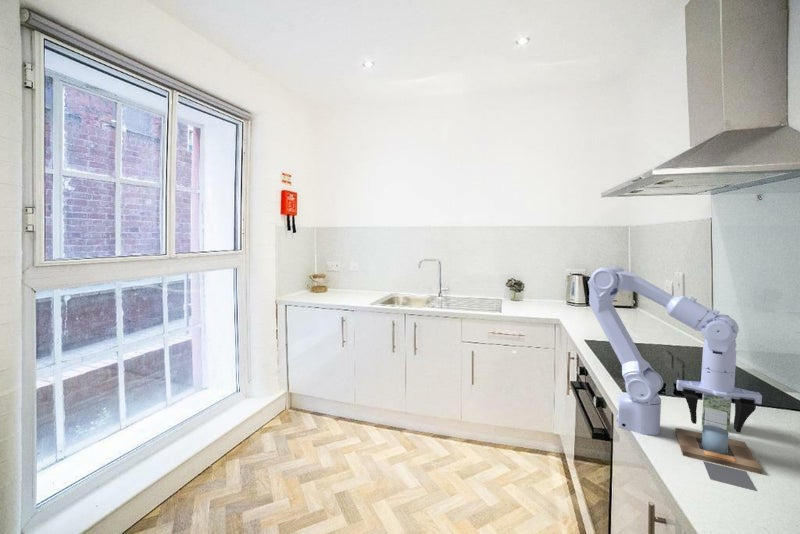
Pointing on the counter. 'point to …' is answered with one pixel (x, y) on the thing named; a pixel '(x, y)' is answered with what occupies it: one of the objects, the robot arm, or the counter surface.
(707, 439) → the peg
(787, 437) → the counter surface
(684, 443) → the socket plate
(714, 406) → the syrup box
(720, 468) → the mat
